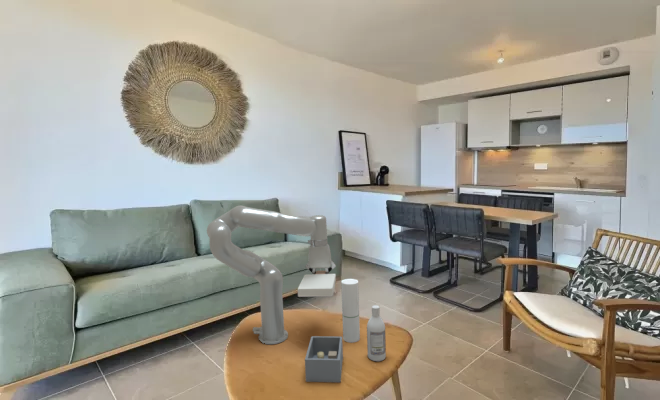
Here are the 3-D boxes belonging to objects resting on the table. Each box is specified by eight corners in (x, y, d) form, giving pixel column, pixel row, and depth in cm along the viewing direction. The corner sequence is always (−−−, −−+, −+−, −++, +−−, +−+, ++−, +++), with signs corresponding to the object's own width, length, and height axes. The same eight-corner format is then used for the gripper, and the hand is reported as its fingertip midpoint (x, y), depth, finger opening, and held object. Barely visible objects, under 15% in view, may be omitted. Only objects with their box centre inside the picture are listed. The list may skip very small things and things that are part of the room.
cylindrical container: (359, 334, 148) (358, 278, 146) (359, 342, 141) (358, 284, 139) (343, 334, 149) (341, 278, 147) (342, 342, 142) (340, 284, 139)
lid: (332, 296, 135) (332, 288, 135) (298, 296, 136) (297, 289, 136) (336, 276, 158) (336, 270, 157) (306, 277, 159) (306, 270, 159)
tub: (340, 382, 116) (339, 360, 115) (305, 381, 117) (304, 359, 116) (342, 356, 131) (342, 336, 131) (312, 355, 133) (311, 336, 132)
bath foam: (389, 358, 129) (388, 307, 127) (374, 363, 126) (372, 312, 124) (379, 350, 135) (378, 301, 133) (364, 354, 132) (362, 305, 130)
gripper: (299, 245, 152) (301, 284, 153) (337, 244, 150) (339, 283, 152) (302, 241, 159) (304, 279, 161) (338, 240, 157) (340, 278, 159)
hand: (321, 281), depth 156 cm, fingers closed on lid, 4 cm apart
